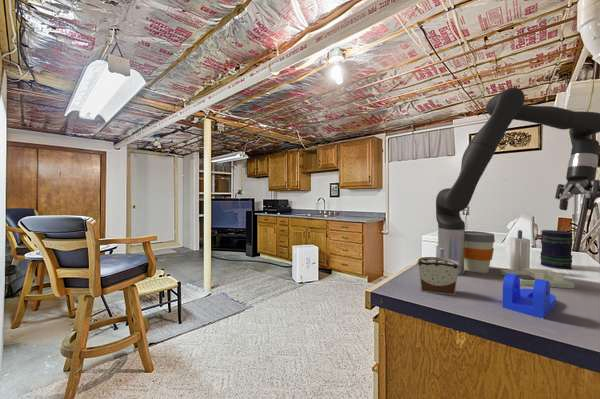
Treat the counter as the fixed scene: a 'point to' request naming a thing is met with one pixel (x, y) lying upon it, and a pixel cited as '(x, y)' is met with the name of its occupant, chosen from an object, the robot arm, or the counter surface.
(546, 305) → the bracket
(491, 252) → the reusable coffee cup
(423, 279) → the food container
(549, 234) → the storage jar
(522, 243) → the plug
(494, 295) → the counter surface
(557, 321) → the counter surface
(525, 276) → the board
